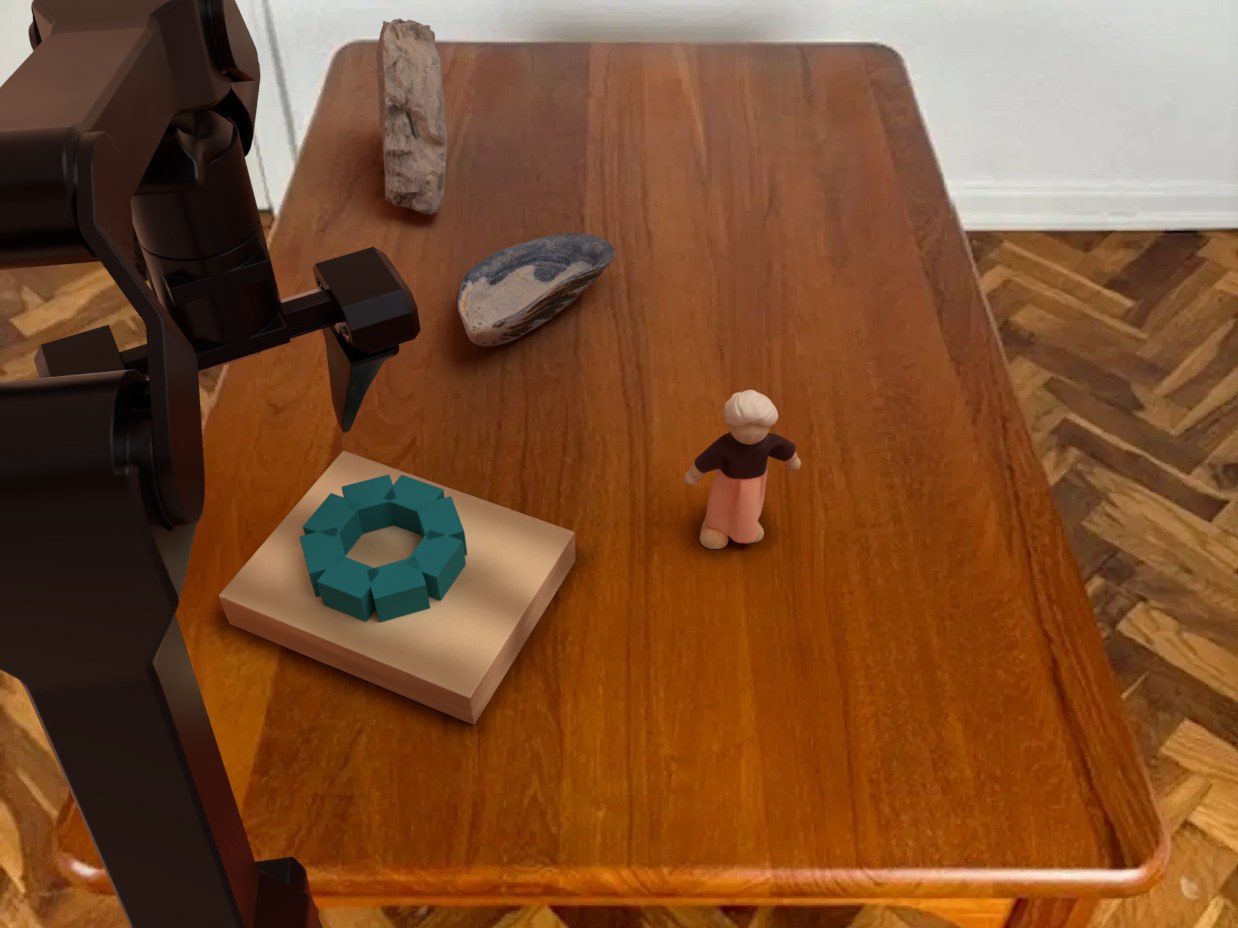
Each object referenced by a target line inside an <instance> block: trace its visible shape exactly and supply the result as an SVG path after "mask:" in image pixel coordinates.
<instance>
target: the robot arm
mask: <svg viewBox="0 0 1238 928" xmlns="http://www.w3.org/2000/svg"><path fill="white" fill-rule="evenodd" d="M30 6H31V7H30V8H31V13H32V14H31V15H32V21H31V23H30V24H29V26H28V30H27V31H28V39H29V44H30V47H31V50H32V52H31V53H30V54H29V55H28V57H26V58H25V60H24V61H23V62H22V63H21V64H19V66H18V67H17V68H16V69H15V71H13V72H12V74H11V75H9V77H8V78H7V79H6V80H5V81H4V82H3V83H2V85H0V271H5V270H15V269H27V268H39V267H52V266H62V265H63V266H64V265H75V264H86V263H98V262H100V263H101V264H102V266H103V267H104V269H105V270H106V271H107V273H108V274H109V275H110V277H111V279H112V280H113V281H114V282H115V284H116V285H117V287H118V288H119V290H120V291H121V292H122V294H123V295H124V296H125V298H126V299H127V301H128V302H129V304H130V305H131V306H132V307H133V309H134V311H135V312H136V313H137V314H138V316H139V317H140V319H141V321H142V322H143V323H144V326H145V333H146V335H145V336H146V343H144V344H141V345H138V346H135V347H134V346H133V347H131V348H128V349H125V350H121V351H120V350H119V347H118V345H117V343H116V340H115V337H114V334H113V331H112V330H111V327H110V324H105V325H101V326H98V327H96V328H92V329H88V330H85V331H82V332H78V333H75V334H72V335H68V336H64V337H62V338H58V339H54V340H51V341H48V342H44V343H41V344H40V345H39V347H38V349H37V351H36V353H35V355H34V357H33V361H34V364H35V365H34V366H35V368H36V371H37V374H38V377H37V378H30V379H16V380H7V381H6V380H5V381H0V671H2V672H3V673H6V674H7V675H9V676H11V677H13V678H15V679H17V680H18V681H19V682H20V683H21V685H22V687H23V688H24V690H25V692H26V694H27V697H28V699H29V701H30V704H31V706H32V708H33V710H34V713H35V715H36V717H37V719H38V722H39V723H40V726H41V729H42V731H43V733H44V735H45V737H46V741H47V742H48V744H49V746H50V749H51V751H52V753H53V756H54V758H55V761H56V763H57V765H58V768H59V769H60V772H61V774H62V776H63V778H64V781H65V783H66V786H67V788H68V790H69V792H70V794H71V797H72V799H73V801H74V803H75V806H76V808H77V811H78V813H79V815H80V817H81V819H82V822H83V824H84V827H85V828H86V831H87V833H88V835H89V838H90V840H91V843H92V845H93V847H94V849H95V851H96V854H97V856H98V858H99V860H100V863H101V865H102V867H103V870H104V872H105V875H106V876H107V879H108V881H109V883H110V886H111V887H112V890H113V893H114V895H115V897H116V899H117V902H118V904H119V906H120V908H121V911H122V913H123V915H124V917H125V920H126V922H127V925H128V927H129V928H324V927H323V924H322V922H321V920H320V917H319V916H320V911H319V907H318V906H317V905H316V903H315V901H314V898H313V896H312V895H313V894H312V891H311V888H310V882H309V878H308V873H307V869H306V867H305V866H304V865H302V863H301V862H300V861H298V859H297V858H295V857H294V856H286V857H279V858H271V859H265V860H257V861H255V857H254V854H253V851H252V847H251V844H250V841H249V837H248V836H247V835H248V834H247V832H246V829H245V826H244V823H243V820H242V817H241V814H240V810H239V807H238V804H237V801H236V798H235V795H234V791H233V789H232V785H231V782H230V779H229V776H228V773H227V769H226V766H225V764H224V761H223V757H222V755H221V752H220V751H221V750H220V748H219V745H218V741H217V739H216V736H215V735H216V734H215V732H214V730H213V729H214V728H213V727H212V723H211V721H210V720H211V719H210V717H209V713H208V711H207V708H206V704H205V701H204V698H203V695H202V692H201V689H200V686H199V683H198V679H197V677H196V673H195V669H194V667H193V664H192V660H191V658H190V654H189V651H188V648H187V645H186V643H185V639H184V635H183V633H182V630H181V626H180V623H179V621H178V617H177V614H176V612H177V610H178V609H179V604H180V601H181V597H182V591H183V588H184V583H185V580H186V579H185V577H186V574H187V570H188V566H189V561H190V558H191V553H192V548H193V544H194V540H195V535H196V532H197V527H198V524H199V523H200V520H201V518H202V517H203V513H204V507H205V499H206V472H205V459H204V458H205V457H204V455H205V454H204V441H203V439H204V438H203V426H202V424H203V423H202V409H201V394H200V393H201V392H200V376H199V374H201V373H204V372H208V371H210V370H213V369H217V368H220V367H223V366H226V365H229V364H233V363H236V362H238V361H241V360H245V359H248V358H251V357H255V356H258V355H260V353H262V352H264V351H267V350H271V349H274V348H276V347H280V346H283V345H286V344H290V343H291V342H292V341H291V339H295V338H298V337H302V336H305V335H308V334H311V333H314V332H317V331H319V330H321V331H322V333H323V338H324V342H325V351H326V360H327V370H328V376H329V378H328V379H329V385H330V396H331V403H332V407H333V411H334V415H335V418H336V422H337V425H338V427H339V429H340V430H341V432H342V433H343V434H346V433H349V432H350V431H351V429H352V427H353V425H354V422H355V421H356V417H357V415H358V413H359V410H360V408H361V405H362V402H363V401H364V398H365V396H366V394H367V391H368V390H369V388H370V386H371V385H372V383H373V381H374V380H375V378H376V376H377V374H378V373H379V371H380V369H381V367H382V366H383V365H384V363H385V361H386V360H388V359H391V358H393V357H396V356H397V355H398V354H399V353H400V345H401V344H404V343H407V342H410V341H413V340H416V338H417V337H418V335H419V334H420V332H421V330H422V329H421V322H420V315H419V310H418V305H417V303H416V300H415V297H414V294H413V292H412V291H411V289H410V287H409V285H408V284H407V283H406V281H405V280H404V279H403V277H402V276H401V274H400V272H399V271H398V270H397V269H396V266H395V265H394V264H393V262H392V261H391V260H390V258H389V256H388V255H387V254H386V253H384V251H382V250H380V249H379V248H376V247H375V246H371V247H367V248H364V249H360V250H357V251H353V252H350V253H348V254H343V255H340V256H337V257H333V258H329V259H326V260H322V261H319V262H316V263H314V265H313V267H312V272H313V275H314V281H315V285H316V286H317V287H316V288H314V289H311V290H307V291H304V292H300V293H296V294H293V295H291V296H287V297H284V298H281V295H280V291H279V286H278V283H277V278H276V275H275V272H274V267H273V264H272V259H271V255H270V251H269V247H268V243H267V239H266V235H265V232H264V231H265V230H264V228H263V224H262V220H261V215H260V212H259V207H258V203H257V200H256V196H255V191H254V188H253V183H252V181H251V176H250V172H249V167H248V165H247V164H248V163H247V160H246V157H247V156H248V155H249V153H250V152H251V149H252V145H253V140H254V135H255V126H256V118H257V110H258V101H259V96H260V95H259V94H260V86H261V77H262V76H261V65H260V62H259V54H258V49H257V47H256V45H255V42H254V40H253V38H252V37H253V36H252V35H251V32H250V30H249V29H248V26H247V23H246V22H245V20H244V19H245V18H244V17H243V15H242V13H241V11H240V8H239V6H238V3H237V1H236V0H32V2H31V5H30ZM147 282H148V283H147ZM148 284H149V285H148Z"/></svg>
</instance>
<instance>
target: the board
mask: <svg viewBox="0 0 1238 928" xmlns="http://www.w3.org/2000/svg"><path fill="white" fill-rule="evenodd" d="M388 474H389V475H390V477H391V480H392V483H393V485H394V483H395V482H396V481H397V480H398V478H399V477H400V476H401V475H405V476H407V477H410V478H413V479H416V480H419V481H422V482H424V483H427V484H430V485H433V486H436V487H439V488H441V489H443V490H444V496H445V498H446V497H449V496H451V497H452V499H453V502H454V505H455V507H456V510H457V513H458V515H459V518H460V521H461V523H462V526H463V529H464V532H465V539H466V547H467V555H465V561H466V565H465V567H464V568H463V570H462V571H461V573H460V574H459V576H458V577H457V578H456V580H455V581H454V583H453V584H452V586H451V587H450V588H449V590H448V591H447V593H446V594H445V596H444V597H443V599H442V600H441V601H440V600H437V599H434V598H432V597H429V596H428V597H429V603H430V608H429V609H425V610H422V611H419V612H415V613H412V614H408V615H405V616H401V617H398V618H394V619H391V620H387V621H384V622H379V619H378V615H377V612H376V610H375V611H374V613H373V614H372V615H371V617H370V618H369V619H368V621H367V622H365V621H363V620H360V619H358V618H355V617H353V616H350V615H348V614H345V613H343V612H340V611H338V610H335V609H333V608H330V607H328V606H325V605H324V604H323V601H322V598H321V596H319V597H316V596H315V593H314V590H313V587H312V583H311V580H310V576H309V573H308V569H307V565H306V561H305V557H304V553H303V549H302V545H301V541H300V536H303V535H305V534H304V530H303V525H304V524H305V523H306V522H307V521H308V519H309V518H310V517H311V516H312V515H313V513H314V512H315V511H316V510H317V509H318V507H319V506H320V505H321V504H322V503H323V502H324V500H325V499H326V498H327V497H328V496H329V494H330V493H333V494H336V495H338V496H341V497H344V496H343V492H342V486H346V485H350V484H353V483H357V482H361V481H365V480H369V479H373V478H377V477H380V476H384V475H388ZM421 540H422V536H421V535H419V534H416V533H413V532H411V531H408V530H405V529H403V528H400V527H397V526H390V527H386V528H383V529H379V530H375V531H371V532H368V533H364V534H362V536H361V537H360V538H359V539H358V541H357V542H356V543H355V544H354V546H353V547H352V548H351V550H350V551H349V552H348V553H347V555H346V557H347V558H350V559H352V560H355V561H358V562H360V563H363V564H366V565H368V566H371V567H373V568H375V567H378V566H382V565H386V564H389V563H393V562H396V561H400V560H404V559H407V558H409V556H410V555H411V553H412V552H413V551H414V549H415V548H416V547H417V545H418V544H419V543H420V541H421ZM576 555H577V554H576V532H575V531H574V530H570V529H568V528H565V527H563V526H559V525H557V524H554V523H550V522H547V521H545V520H542V519H540V518H537V517H534V516H530V515H528V514H525V513H522V512H519V511H517V510H513V509H510V508H509V507H505V506H503V505H499V504H496V503H494V502H491V501H488V500H485V499H482V498H479V497H477V496H473V495H471V494H468V493H465V492H462V491H460V490H457V489H454V488H451V487H448V486H445V485H443V484H441V483H438V482H437V483H436V482H434V481H431V480H428V479H425V478H423V477H419V476H417V475H415V474H411V473H409V472H405V471H403V470H400V469H397V468H394V467H391V466H389V465H385V464H383V463H380V462H378V461H374V460H372V459H369V458H365V457H363V456H360V455H357V454H354V453H351V452H349V451H346V450H342V451H341V452H340V453H339V455H337V457H336V458H334V461H332V463H331V464H330V465H329V466H328V468H326V470H325V471H324V472H323V473H322V474H321V475H320V476H319V478H318V479H317V480H316V481H315V483H313V485H312V486H311V487H310V488H309V490H307V492H306V493H305V494H304V495H303V496H302V497H301V499H300V500H299V501H298V502H297V504H296V505H294V507H293V508H292V509H291V510H290V511H289V513H288V514H287V515H286V516H285V517H284V519H283V520H282V521H281V522H280V523H279V524H278V525H277V527H276V528H275V529H274V530H273V531H272V533H270V534H269V536H268V537H267V538H266V539H265V541H264V542H263V543H262V544H261V545H260V547H259V548H258V549H257V550H256V551H255V552H254V553H253V554H252V556H251V557H250V558H248V560H247V562H245V564H244V565H243V566H242V567H241V568H240V570H239V571H238V572H237V573H236V574H235V576H234V577H233V578H232V579H231V580H230V581H229V582H228V583H227V584H226V586H225V587H224V588H223V589H222V590H221V592H220V593H219V594H218V599H219V601H220V603H221V604H220V605H221V607H222V609H223V611H224V612H223V613H224V614H225V617H226V619H227V622H228V624H229V625H231V626H233V627H236V628H238V629H240V630H244V631H246V632H248V633H251V634H253V635H255V636H258V637H259V638H263V639H265V640H268V641H270V642H272V643H274V644H277V645H279V646H281V647H284V648H286V649H289V650H291V651H294V652H296V653H299V654H301V655H303V656H306V657H309V658H310V659H313V660H316V661H318V662H320V663H323V664H325V665H327V666H330V667H333V668H335V669H337V670H340V671H342V672H345V673H347V674H350V675H352V676H354V677H357V678H359V679H362V680H364V681H366V682H369V683H371V684H373V685H376V686H378V687H381V688H383V689H386V690H388V691H390V692H393V693H395V694H398V695H400V696H403V697H404V698H407V699H410V700H412V701H414V702H417V703H419V704H422V705H425V706H426V707H429V708H432V709H434V710H436V711H439V712H440V713H443V714H446V715H449V716H451V717H453V718H455V719H457V720H461V721H463V722H465V723H468V724H469V725H472V726H475V725H476V723H477V721H478V720H479V718H480V717H481V715H482V713H483V712H484V710H485V708H486V707H487V705H488V704H489V702H490V701H491V699H492V697H493V695H494V694H495V693H496V691H497V689H498V687H499V686H500V684H501V683H502V681H503V679H504V678H505V676H506V675H507V673H508V671H509V670H510V668H511V666H512V664H513V663H514V661H515V660H516V658H517V657H518V655H519V653H520V652H521V650H522V648H523V647H524V645H525V643H526V642H527V640H528V639H529V638H530V635H531V634H532V632H533V630H534V629H535V627H536V626H537V624H538V623H539V621H540V620H541V618H542V616H543V614H545V611H546V609H547V608H548V606H549V605H550V603H551V601H552V600H553V598H554V597H555V595H556V593H557V592H558V590H559V588H560V587H561V586H562V584H563V582H564V580H565V579H566V577H567V575H568V574H569V572H570V571H571V570H572V568H573V566H574V564H575V562H576V559H577V558H576V557H577V556H576Z"/></svg>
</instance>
